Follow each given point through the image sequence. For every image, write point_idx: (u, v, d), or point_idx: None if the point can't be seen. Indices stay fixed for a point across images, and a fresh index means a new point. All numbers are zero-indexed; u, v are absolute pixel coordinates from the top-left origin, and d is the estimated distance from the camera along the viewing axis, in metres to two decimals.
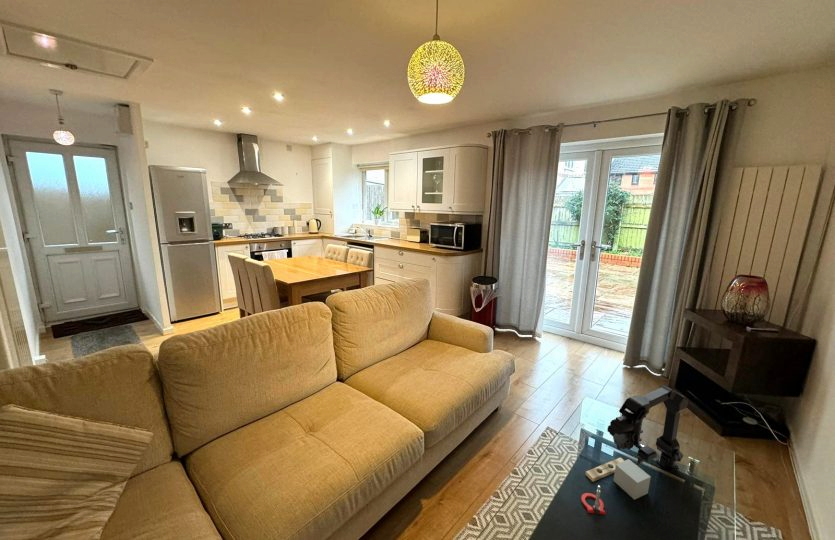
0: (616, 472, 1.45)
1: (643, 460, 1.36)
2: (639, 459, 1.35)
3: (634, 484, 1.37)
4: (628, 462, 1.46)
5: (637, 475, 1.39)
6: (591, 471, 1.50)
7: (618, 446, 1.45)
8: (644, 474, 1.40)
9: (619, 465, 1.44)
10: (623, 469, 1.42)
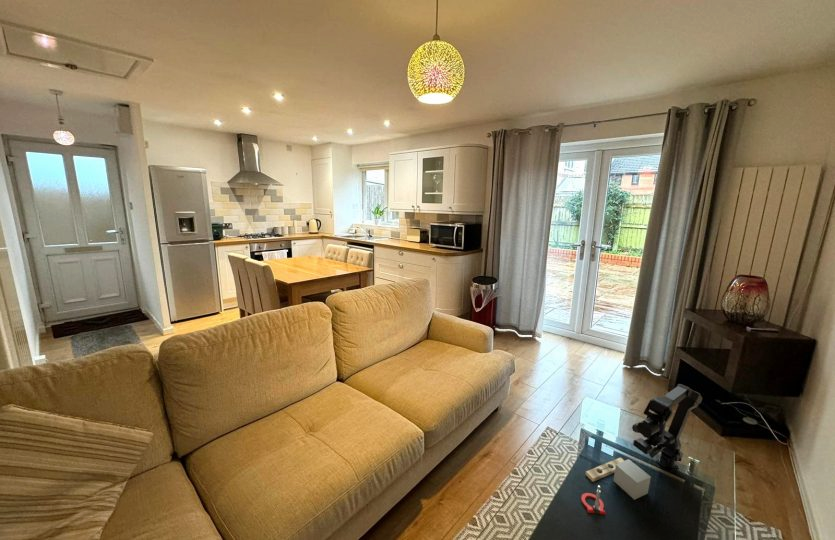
0: (616, 472, 1.45)
1: (652, 453, 1.43)
2: None
3: (634, 484, 1.37)
4: (628, 462, 1.46)
5: (637, 475, 1.39)
6: (591, 471, 1.50)
7: (650, 452, 1.45)
8: (644, 474, 1.40)
9: (619, 465, 1.44)
10: (623, 469, 1.42)
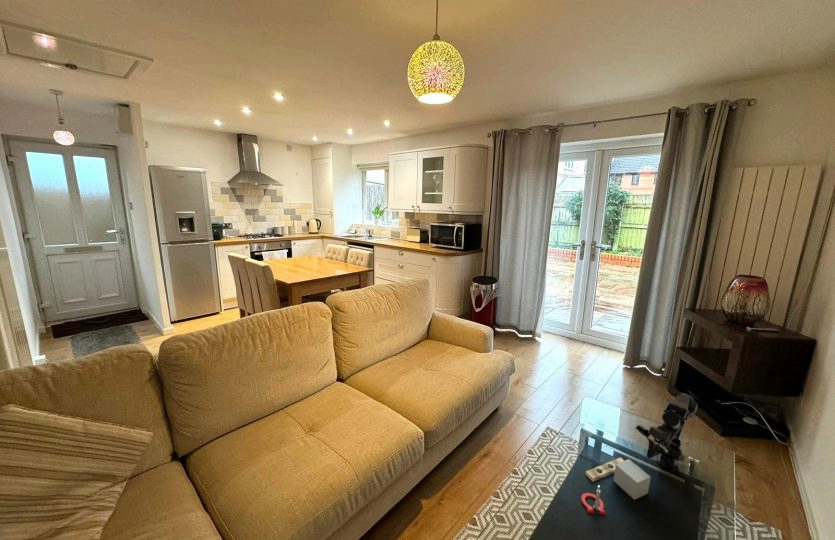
0: (616, 472, 1.45)
1: (655, 455, 1.43)
2: (654, 450, 1.42)
3: (634, 484, 1.37)
4: (628, 462, 1.46)
5: (637, 475, 1.39)
6: (591, 471, 1.50)
7: (649, 453, 1.44)
8: (644, 474, 1.40)
9: (619, 465, 1.44)
10: (623, 469, 1.42)
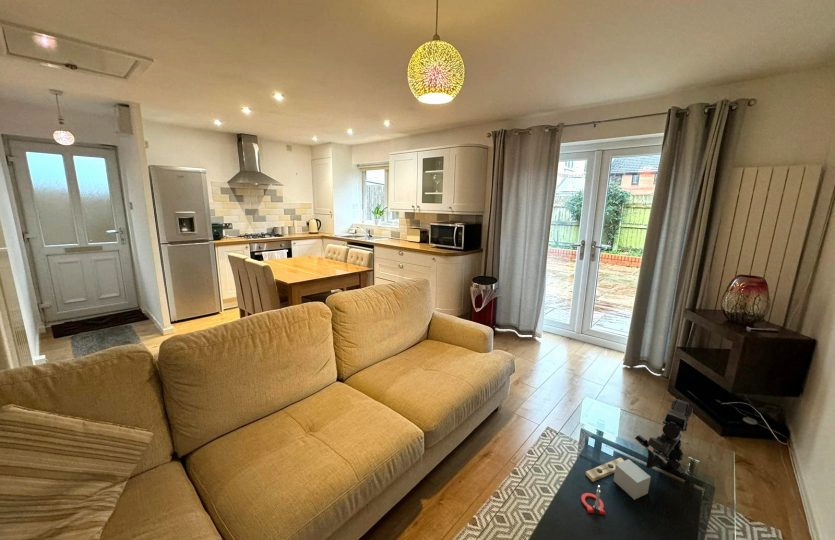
0: (616, 472, 1.45)
1: (654, 465, 1.45)
2: (654, 461, 1.44)
3: (634, 484, 1.37)
4: (628, 462, 1.46)
5: (637, 475, 1.39)
6: (591, 471, 1.50)
7: (648, 464, 1.45)
8: (644, 474, 1.40)
9: (619, 465, 1.44)
10: (623, 469, 1.42)
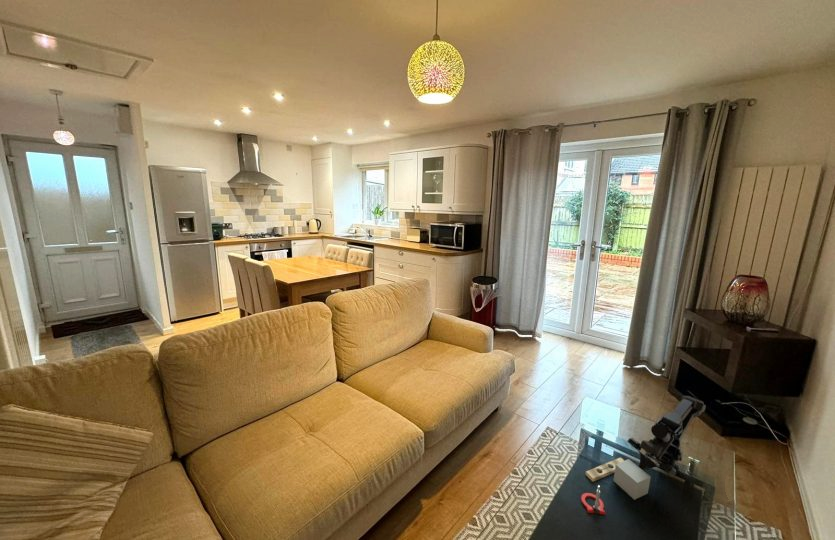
0: (616, 472, 1.45)
1: (647, 468, 1.43)
2: (646, 464, 1.42)
3: (634, 484, 1.37)
4: (628, 462, 1.46)
5: (637, 475, 1.39)
6: (591, 471, 1.50)
7: (641, 467, 1.43)
8: (644, 474, 1.40)
9: (619, 465, 1.44)
10: (623, 469, 1.42)
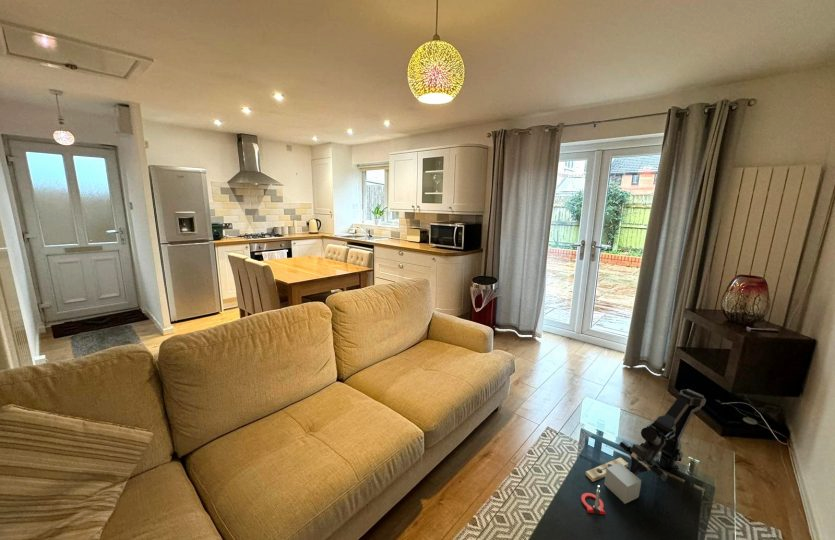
0: (607, 476, 1.43)
1: (638, 473, 1.41)
2: (637, 468, 1.41)
3: (625, 487, 1.35)
4: (619, 465, 1.44)
5: (627, 478, 1.38)
6: (591, 471, 1.50)
7: (632, 471, 1.42)
8: (635, 478, 1.38)
9: (610, 469, 1.43)
10: (614, 473, 1.41)
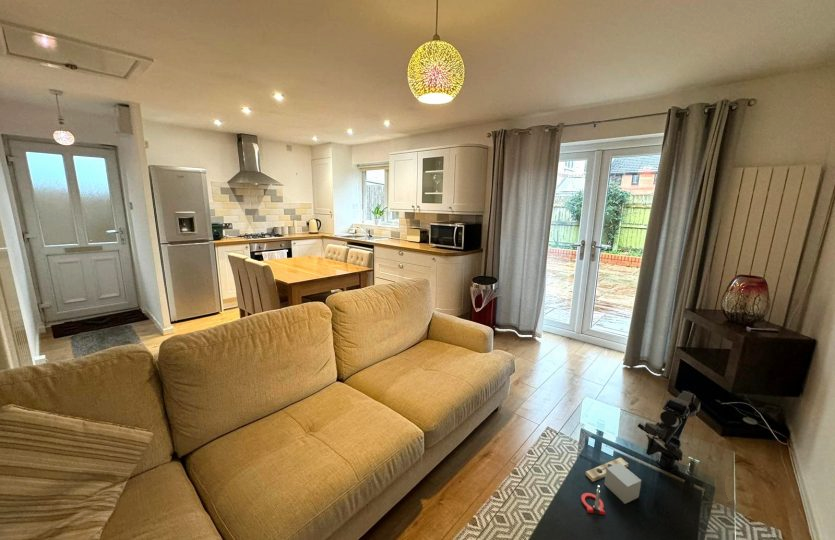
0: (607, 476, 1.43)
1: (655, 451, 1.44)
2: (653, 447, 1.44)
3: (625, 487, 1.35)
4: (619, 465, 1.44)
5: (627, 478, 1.38)
6: (591, 471, 1.50)
7: (648, 450, 1.45)
8: (635, 478, 1.38)
9: (610, 469, 1.43)
10: (614, 473, 1.41)
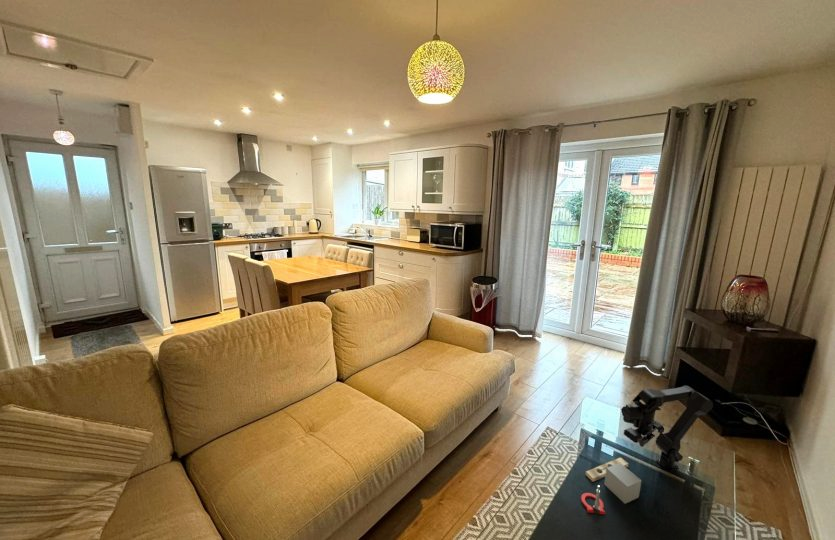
0: (607, 476, 1.43)
1: (642, 442, 1.49)
2: None
3: (625, 487, 1.35)
4: (619, 465, 1.44)
5: (627, 478, 1.38)
6: (591, 471, 1.50)
7: None
8: (635, 478, 1.38)
9: (610, 469, 1.43)
10: (614, 473, 1.41)
